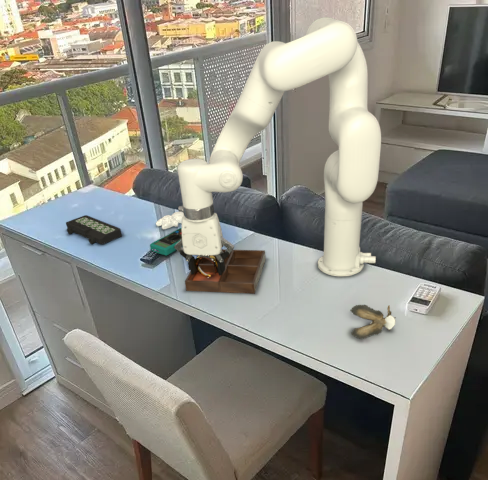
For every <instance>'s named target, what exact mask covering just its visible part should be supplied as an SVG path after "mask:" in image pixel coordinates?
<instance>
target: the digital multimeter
mask: <svg viewBox="0 0 488 480" xmlns="http://www.w3.org/2000/svg"><path fill="white" fill-rule="evenodd" d="M181 239H182V228H181V227H179V228H178V229H175V230H174V231H172V232H170V233H168V234H166V235H164V236H163V237H160V238H159V239H157V240H155V241H152V242H151V243H149V248H150V251H152V252H154V253H156V254H159V255H162V256H165V257H168V256H169V255H171V254H173V253H175V252H177V250H176V249H175V248H174V246H175V245H176V244H177V243H178V242H179V241H180V240H181ZM182 247H183V245H182ZM152 249H156V250H158V251H159V252H157V251H154V250H152Z"/></svg>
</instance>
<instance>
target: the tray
mask: <svg viewBox="0 0 488 480" xmlns="http://www.w3.org/2000/svg"><path fill="white" fill-rule="evenodd" d="M226 250H227V248H226V249H225V248H222V251H223V252H225V251H226ZM213 256H214V257H215V258H216V260H217V262H218V259H217V257H216V256H215V255H213ZM266 260H267V258H266V250H264V249H262V250H259V249H233V250H232V252H231V253H230V254H229V255H228V257H227V258H226V259H225V260H224V262H225V271H223V273H222V275H219V274H218V273H217V275H216V276H215V277H213V278H209V279H207V278H206V277H204V276H202V275H201V274H200V273H199V272H198V271H197V269H196V271H195V273H194V274H193V275H191V271H190V270H189V273H188V275H187V277H186V278H185V280H184V285H185V291H187V292H205V293H206V292H207V293H226V294H227V293H229V294H230V293H231V294H249V295H251V294H253V295H254V294H256V292H257V288H258V285H259V282H260V279H261V276H262V272H263V269H264V266H265V263H266ZM198 263H199V267H200V269H201V270H202V271H203V272H204V273H206V274H210V275H213V274H214V273H215V267H214V265H213V263H212V262H211V261H210V260H209V259H206V258H201V259H199V261H198Z"/></svg>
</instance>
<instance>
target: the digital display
mask: <svg viewBox="0 0 488 480" xmlns="http://www.w3.org/2000/svg"><path fill="white" fill-rule="evenodd" d="M65 225H66V228H67V229H66V232H67V234H68V235H72V234H76V235H79V236H81V237H83V238H86V239H88V243H89V244H90V245H94V244H98V245H105V244H107V243H110V242H112V241H115V240H117V239H119V238H122V235H123V234H122V229H121V228H120V227H118V226H115V225H113V224H111V223H107V222H105V221H102V220H101V219H97V218H95V217H92V216H89V215H87V214H84V215H82V216H79V217H75V218H74V219H71V220H69V221H68V220H67V221H66V222H65Z"/></svg>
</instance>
